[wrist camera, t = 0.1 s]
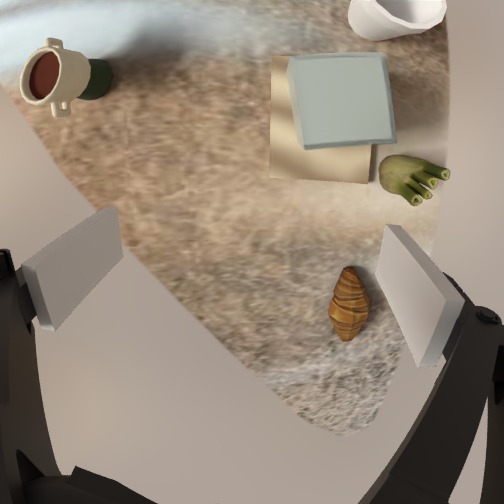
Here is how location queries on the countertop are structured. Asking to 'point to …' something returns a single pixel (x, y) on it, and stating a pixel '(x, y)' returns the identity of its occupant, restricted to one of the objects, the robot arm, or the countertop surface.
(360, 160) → the board
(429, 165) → the fennel bulb
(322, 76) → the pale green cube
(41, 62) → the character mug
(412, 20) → the foam cup
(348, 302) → the croissant
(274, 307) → the countertop surface
